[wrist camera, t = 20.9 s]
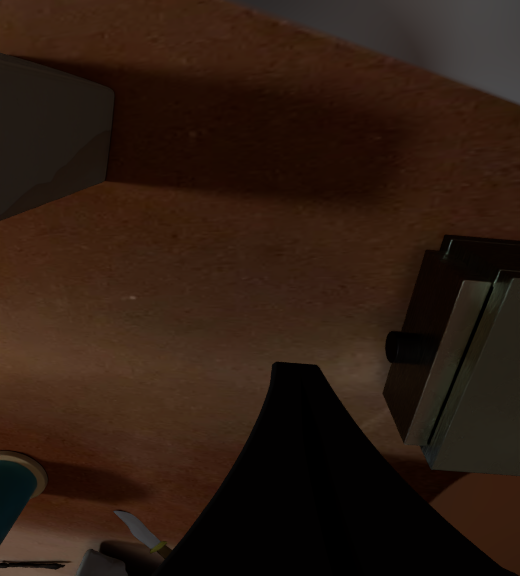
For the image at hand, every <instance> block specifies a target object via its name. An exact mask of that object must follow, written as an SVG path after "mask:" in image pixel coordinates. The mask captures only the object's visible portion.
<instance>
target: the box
mask: <svg viewBox="0 0 520 576" xmlns="http://www.w3.org/2000/svg"><path fill="white" fill-rule="evenodd" d="M114 96H115V95H114V91H113V90H112V89H111V88H109V87H106V86H103V85H101V84H98V83H96V82H93V81H90V80H87V79H84V78H81V77H78V76H75V75H72V74H69V73H66V72H63V71H60V70H57V69H53V68H50V67H47V66H44V65H40V64H37V63H34V62H31V61H27V60H24V59H20V58H17V57H13V56H10V55H6V54H3V53H0V221H1V220H3V219H6V218H9V217H11V216H14V215H17V214H19V213H22V212H25V211H27V210H30V209H33V208H36V207H38V206H41V205H43V204H46V203H48V202H51V201H54V200H57V199H59V198H62V197H65V196H67V195H70V194H72V193H75V192H78V191H80V190H83V189H85V188H88V187H90V186H93V185H96V184H99V183H101V182H103V181H105V177H106V170H107V162H108V155H109V147H110V137H111V129H112V119H113V108H114Z"/></svg>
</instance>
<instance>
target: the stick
mask: <svg viewBox="0 0 520 576" xmlns="http://www.w3.org/2000/svg"><path fill="white" fill-rule="evenodd" d="M64 566H65V565H61V564H57V563H53V564H35V563H9V564H7V563H0V568H7V567H25V568H26V567H30V568H48V569H55V570H56V569H59V568H61V567H64Z"/></svg>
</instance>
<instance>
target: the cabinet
mask: <svg viewBox="0 0 520 576" xmlns="http://www.w3.org/2000/svg"><path fill="white" fill-rule="evenodd" d="M440 251H448V252H450V253H451V254H453V255H454V256H455V257H457V258H458V259H460V260H461V261H462V262H464V263H465V264H467V265H468V266H470V267H471V268H472V269H474V270H475V271H477V272H478V273H479V274H481V275H482V276H484V277H485V278H487V279H488V280H489V281H491V282H492V285H491V286H492V287H494V288H493V291H492V293H491V296H490V298H489V301H488V303H487V305H486V308H485V310H484V313H483V315H482V318H481V320H480V323H479V325H478V327H477V330H476V332H475V335H474V337H473V340H472V342H471V344H470V347H469V349H468V352H467V354H466V357H465V359H464V362H463V364H462V366H461V369H460V371H459V374H458V376H457V379H456V381H455V384H454V386H453V388H452V391H451V393H450V396H449V398H448V401H447V403H446V405H445V408H444V410H443V413H442V414H441V413H439V415H438V418H437V420H436V423H435V425H434V428H433V430H432V433H431V435H430V438H429V440H428V443H427V445H426V446H420V447H421V450H422V452H423V454H424V455H425V458H426V460H427V462H428V464H429V467H430V469H432V470H445V471H459V472H473V473H486V474H500V475H514V476H520V241H511V240H499V239H488V238H476V237H465V236H453V235H445V236H444V239H443V242H442V245H441V248H440Z"/></svg>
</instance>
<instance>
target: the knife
mask: <svg viewBox="0 0 520 576" xmlns="http://www.w3.org/2000/svg"><path fill="white" fill-rule="evenodd" d="M113 512H114V513H116V514H117V515H118V516H119V517H120V518H121V519H122V520H123V521H124V522H125V523H126V524H127V525H128V527H129V528H130V530H131V532H132V533H133V535H134V536H135V537H136V538H138V539H139V540H140V541H141V542H143V543H144V544H145V545H146V546H148V547H149V548H150V553H153V552H156V551H157V552H158V553H159V554H160V555H161V556H162V557H163V558H164V559H166V558H167V556H168V555H169V554H170V553H171V552H172V550H171V549H169V548H168V547H167V546H165V544H166V543H167V542H165V541H162V542H161V541H159V540H158V539H157V538H156V537H155V536H154V535H153V534H152V533H151V532H150V531H149V530H148V529H147V528H146V527H145V526H144V525H143V523H142V522H141V521H139V520H138V519H137V518H136V517H135V516H133V515H132V514H130V513H127V512H122V511H113Z"/></svg>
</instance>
